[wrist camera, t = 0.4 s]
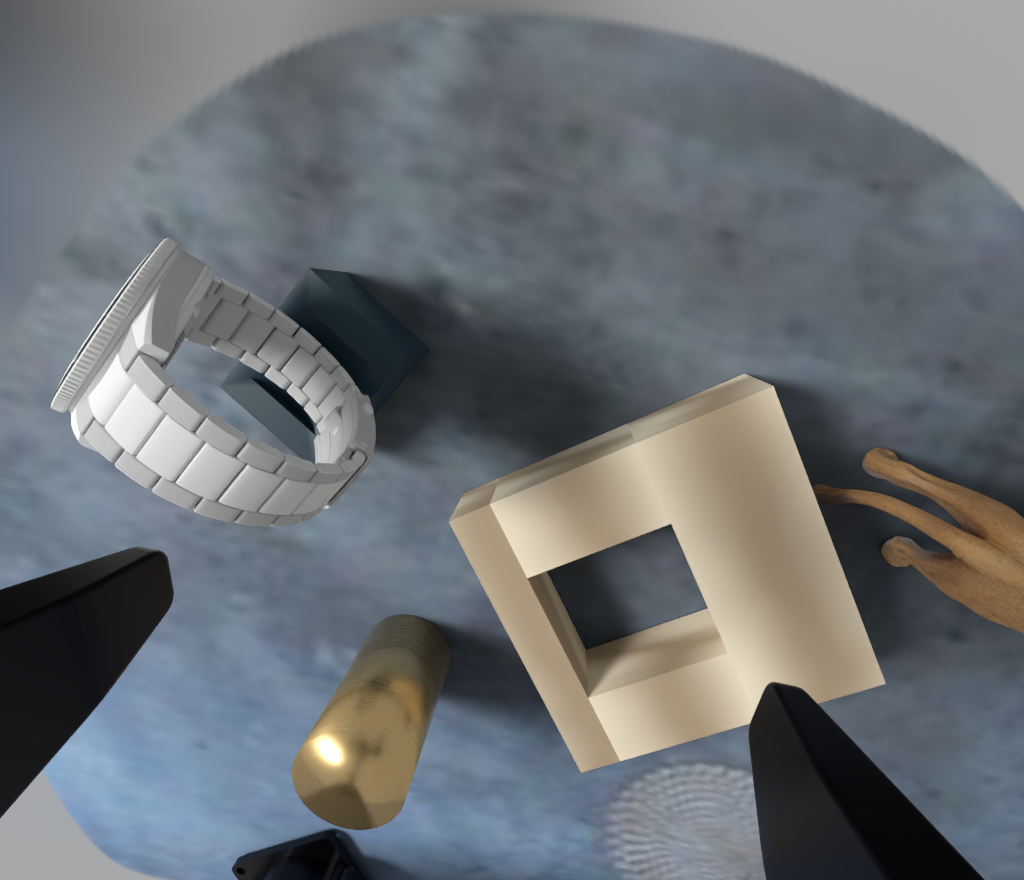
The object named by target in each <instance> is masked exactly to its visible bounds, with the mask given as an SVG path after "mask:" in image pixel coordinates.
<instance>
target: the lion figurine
mask: <svg viewBox="0 0 1024 880" xmlns="http://www.w3.org/2000/svg"><path fill="white" fill-rule="evenodd" d="M862 466H863V469H864V470H865V471H866V472H867V473H868V474H870V475H872V476H874V477H876V478H880V479H886V480H888V481H889V482H891V483H893V484H895V485H897V486H900V487H902V488H905V489H909V490H912V491H916V492H918V493H920V494H923V495H925V496H927V497H929V498H931V499H932V500H934V501H935V502H937V503H938V504H939V505H940V506H942V507H943V508H944V509H945V510H946V511H947V512H948V513H949V514H950V515H951V516H952V517H953V518H954V519H955V520H956V521H957V522H958V523H959V524H960V525H961V526H962V528H963V529H964V530H965V532H964V531H962V530H960V529H958V528H957V527H955V526H953V525H951V524H949V523H947V522H945V521H943V520H941V519H940V518H938V517H936V516H934V515H932V514H929V513H927V512H925V511H923V510H921V509H919V508H917V507H914V506H912V505H910V504H908V503H905V502H903V501H900V500H898V499H896V498H893V497H891V496H888V495H884V494H880V493H877V492H870V491H865V490H856V489H838V488H832V487H829V486H826V485H823V484H818V485H816V486H811V487H812V489H813V492H814V495H815V497H816V500H817V502H821V503H825V504H830V505H834V504H840V503H857V504H863V505H868V506H871V507H874V508H877V509H880V510H883V511H885V512H887V513H889V514H892V515H894V516H896V517H898V518H900V519H902V520H904V521H906V522H908V523H910V524H911V525H913V526H915V527H917V528H918V529H920V530H921V531H923V532H924V533H926V534H927V535H929V536H930V537H932V538H933V539H935V540H937V541H938V542H940V543H941V544H943V545H944V546H946V547H947V548H949V549H950V550H952V552H941V553H939V552H934V551H927V550H924V549H922V548H921V547H919V546H918V545H917V544H916V543H915V542H914V541H913V540H912V539H910V538H906V537H901V536H897V537H896V536H895V537H894V538H892V539H889V540H887V541H886V542H885V543H884V545H883V546H882V555H883V556H884V558H885V560H886V561H887V562H888V563H889V564H891V565H893V566H895V567H907V566H909V565H912V566H914V567H915V568H916V569H917V570H919V571H920V572H921V573H922V574H923V575H924V576H925V577H926V578H927V579H928V580H929V581H931V582H932V583H933V584H934V585H935V586H936V587H937V588H938V589H939V590H941V591H942V592H943V593H944V594H946V595H947V596H949V597H951V598H953V599H955V600H957V601H959V602H960V603H962V604H964V605H965V606H967V607H968V608H970V609H971V610H973V611H974V612H976V613H977V614H979V615H981V616H983V617H985V618H986V619H988V620H991V621H993V622H996V623H999V624H1002V625H1004V626H1007V627H1009V628H1011V629H1014V630H1016V631H1018V632H1021V633H1023V634H1024V517H1022V516H1020V515H1019V514H1018V513H1017V512H1016V511H1015V510H1013V509H1012V508H1010V507H1008V506H1007V505H1005V504H1003V503H1001V502H998V501H996V500H994V499H992V498H989V497H987V496H985V495H983V494H981V493H978V492H976V491H973V490H970V489H968V488H965V487H963V486H960V485H957V484H954V483H951V482H948V481H946V480H943V479H940V478H937V477H935V476H933V475H930V474H928V473H926V472H923V471H921V470H919V469H917V468H916V467H914V466H913V465H911V464H908V463H906V462H902V461H899V459H898V458H897V456H896V454H895V453H894V452H893V451H891V450H888V449H885V448H874V449H872V450H870V451H869V452H868V453H867V454H866V455H865V457H864V459H863V462H862Z"/></svg>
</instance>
